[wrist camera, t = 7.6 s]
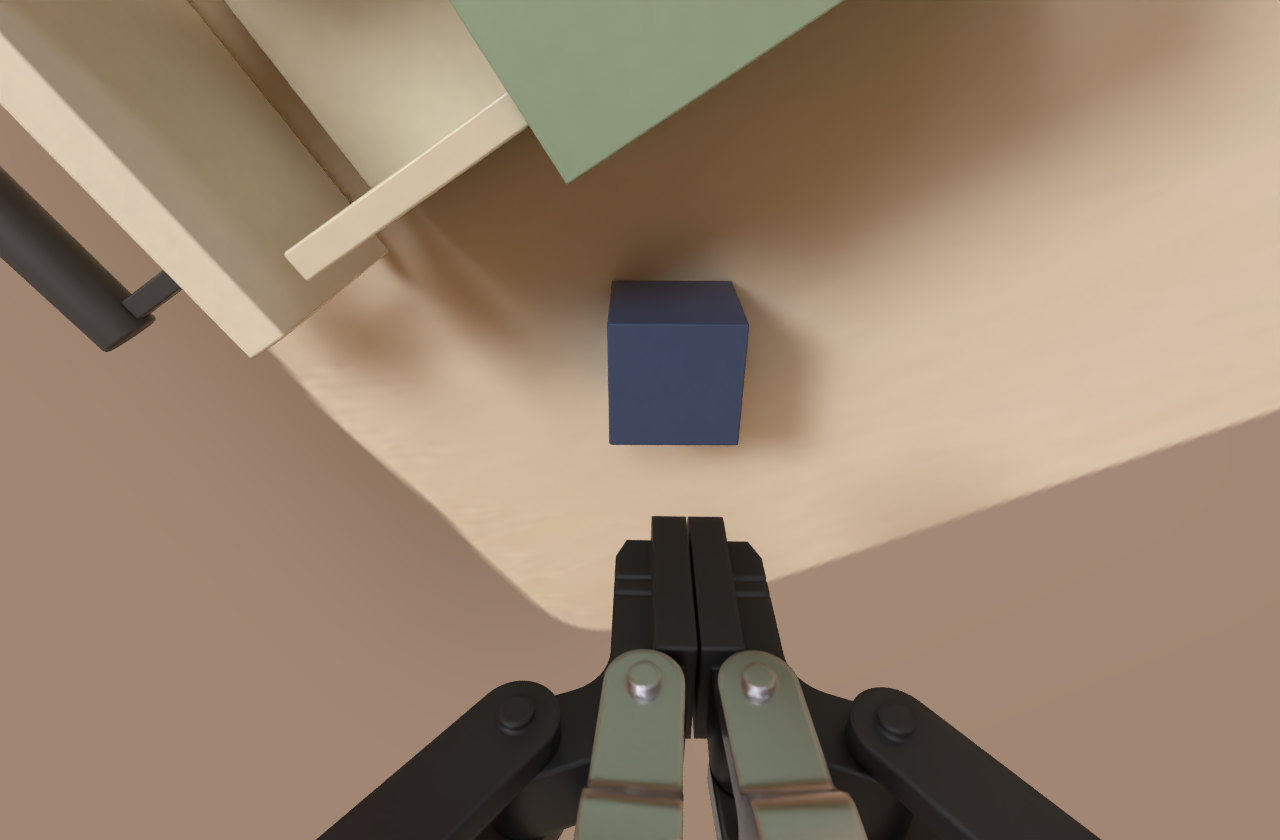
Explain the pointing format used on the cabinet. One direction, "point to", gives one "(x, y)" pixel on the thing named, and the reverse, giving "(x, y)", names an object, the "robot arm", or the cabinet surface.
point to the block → (675, 363)
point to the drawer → (235, 149)
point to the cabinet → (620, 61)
